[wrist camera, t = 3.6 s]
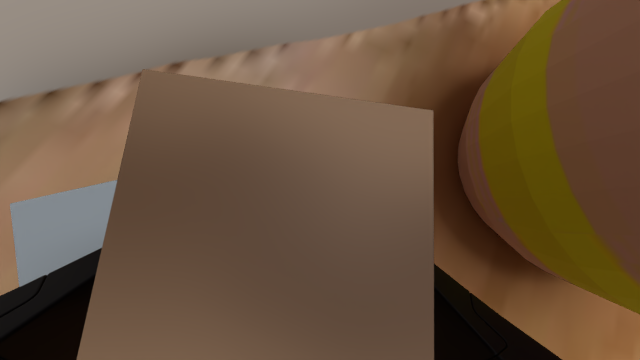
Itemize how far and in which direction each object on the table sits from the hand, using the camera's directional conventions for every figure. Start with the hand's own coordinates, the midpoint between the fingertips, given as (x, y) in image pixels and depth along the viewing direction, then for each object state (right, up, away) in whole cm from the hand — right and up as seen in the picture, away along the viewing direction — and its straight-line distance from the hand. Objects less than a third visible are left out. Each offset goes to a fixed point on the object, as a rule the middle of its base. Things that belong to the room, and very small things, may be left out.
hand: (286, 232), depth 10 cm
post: (-1, -1, +9) cm, 9 cm away
